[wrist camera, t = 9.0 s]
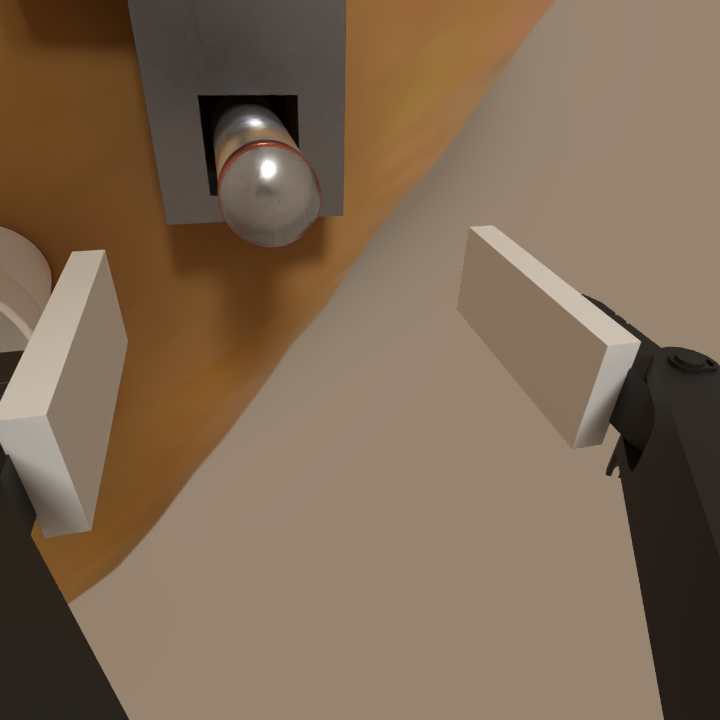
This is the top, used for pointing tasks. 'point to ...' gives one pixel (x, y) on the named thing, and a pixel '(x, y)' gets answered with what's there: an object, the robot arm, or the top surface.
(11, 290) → the cup
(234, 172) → the cylinder
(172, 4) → the socket block
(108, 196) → the top surface
